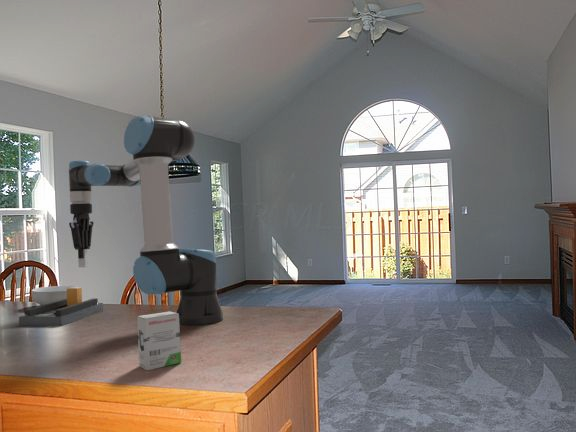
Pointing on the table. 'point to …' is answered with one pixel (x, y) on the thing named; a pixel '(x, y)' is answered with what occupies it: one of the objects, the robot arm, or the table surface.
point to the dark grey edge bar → (45, 307)
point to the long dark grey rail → (76, 307)
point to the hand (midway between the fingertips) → (83, 267)
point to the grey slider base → (51, 319)
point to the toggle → (74, 295)
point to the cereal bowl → (49, 294)
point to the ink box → (159, 340)
